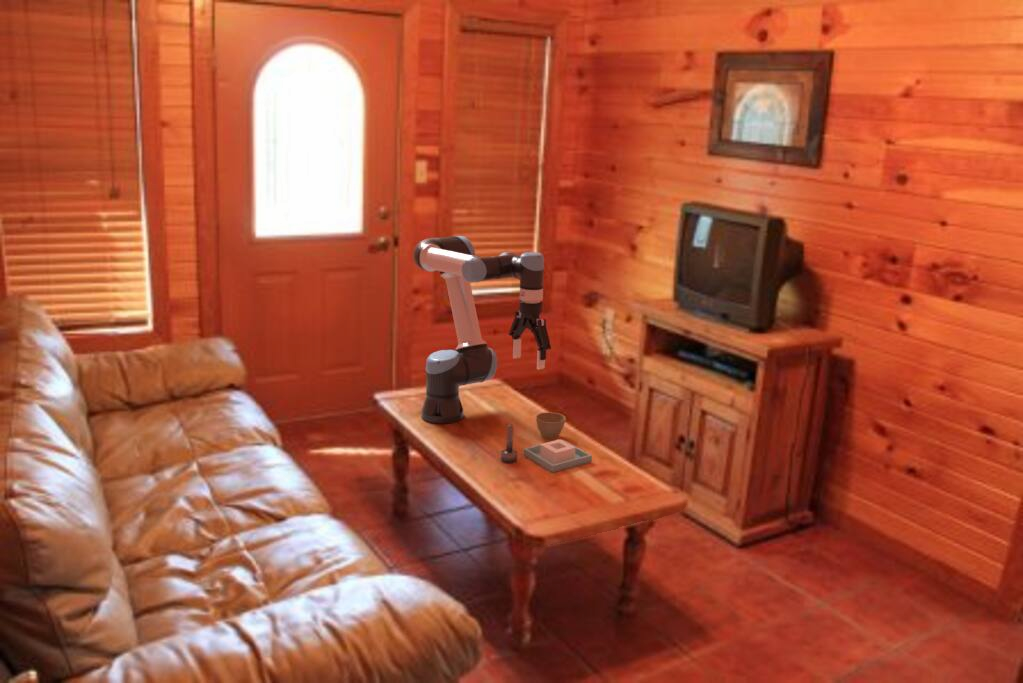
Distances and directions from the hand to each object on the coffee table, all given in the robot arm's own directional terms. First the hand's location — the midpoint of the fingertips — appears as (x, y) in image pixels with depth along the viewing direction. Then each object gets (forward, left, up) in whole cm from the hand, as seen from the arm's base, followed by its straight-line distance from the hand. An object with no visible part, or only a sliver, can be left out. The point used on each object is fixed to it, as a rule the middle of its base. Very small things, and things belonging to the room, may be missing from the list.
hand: (528, 363), depth 287 cm
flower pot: (+3, +8, -27) cm, 28 cm away
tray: (+19, -1, -27) cm, 33 cm away
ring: (+19, -1, -26) cm, 32 cm away
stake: (+12, -15, -27) cm, 33 cm away
